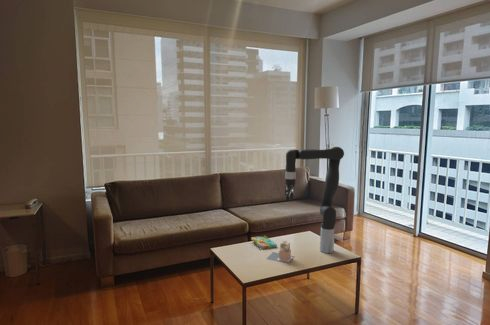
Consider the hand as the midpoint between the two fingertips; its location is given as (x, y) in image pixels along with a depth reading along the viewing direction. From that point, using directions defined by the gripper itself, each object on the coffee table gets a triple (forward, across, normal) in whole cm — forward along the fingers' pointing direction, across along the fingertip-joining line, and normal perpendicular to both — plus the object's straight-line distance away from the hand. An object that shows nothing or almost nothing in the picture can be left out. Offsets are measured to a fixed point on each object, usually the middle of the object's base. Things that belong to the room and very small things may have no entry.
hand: (289, 200), depth 234 cm
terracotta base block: (+35, -22, -5) cm, 41 cm away
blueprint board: (+36, -22, -2) cm, 42 cm away
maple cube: (+29, -22, -5) cm, 36 cm away
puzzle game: (+37, -4, +18) cm, 41 cm away
